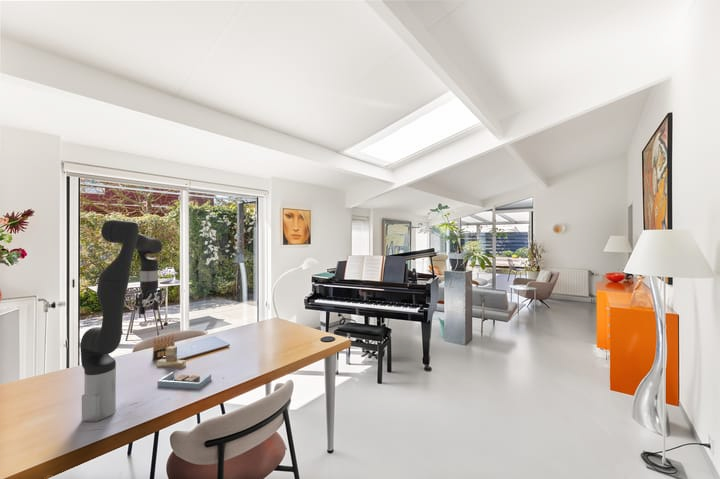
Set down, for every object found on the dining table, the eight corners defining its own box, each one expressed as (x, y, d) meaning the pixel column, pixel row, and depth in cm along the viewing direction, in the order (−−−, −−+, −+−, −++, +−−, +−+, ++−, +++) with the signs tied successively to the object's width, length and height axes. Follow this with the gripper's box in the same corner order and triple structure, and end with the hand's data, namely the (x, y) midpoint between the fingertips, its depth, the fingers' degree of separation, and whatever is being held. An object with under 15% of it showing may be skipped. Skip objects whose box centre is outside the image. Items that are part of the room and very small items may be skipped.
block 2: (191, 386, 143) (191, 380, 143) (184, 385, 144) (184, 379, 144) (199, 381, 148) (199, 376, 148) (193, 380, 149) (193, 375, 149)
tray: (198, 389, 140) (199, 383, 140) (157, 386, 142) (157, 380, 142) (211, 379, 149) (211, 374, 149) (172, 376, 151) (172, 371, 151)
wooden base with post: (181, 368, 161) (182, 349, 161) (156, 366, 163) (157, 347, 163) (185, 365, 164) (185, 347, 164) (161, 364, 166) (161, 345, 166)
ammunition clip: (153, 360, 170) (153, 338, 170) (152, 359, 171) (152, 337, 171) (175, 355, 178) (175, 334, 178) (174, 354, 179) (174, 333, 179)
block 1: (180, 385, 143) (180, 380, 143) (173, 384, 145) (173, 378, 145) (189, 380, 148) (189, 375, 148) (182, 379, 149) (182, 374, 149)
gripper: (145, 282, 148) (144, 316, 148) (166, 277, 162) (166, 309, 162) (130, 281, 149) (130, 315, 149) (153, 277, 163) (153, 308, 163)
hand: (149, 312), depth 156 cm, fingers open, 8 cm apart
